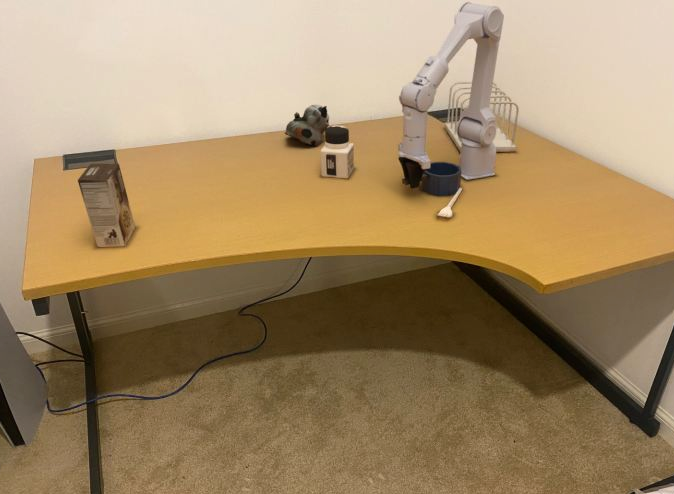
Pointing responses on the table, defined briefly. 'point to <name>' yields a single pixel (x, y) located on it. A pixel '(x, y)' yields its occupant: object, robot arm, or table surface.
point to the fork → (449, 206)
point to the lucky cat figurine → (309, 125)
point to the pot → (440, 179)
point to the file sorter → (500, 139)
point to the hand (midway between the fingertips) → (412, 185)
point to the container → (337, 153)
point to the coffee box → (107, 204)
